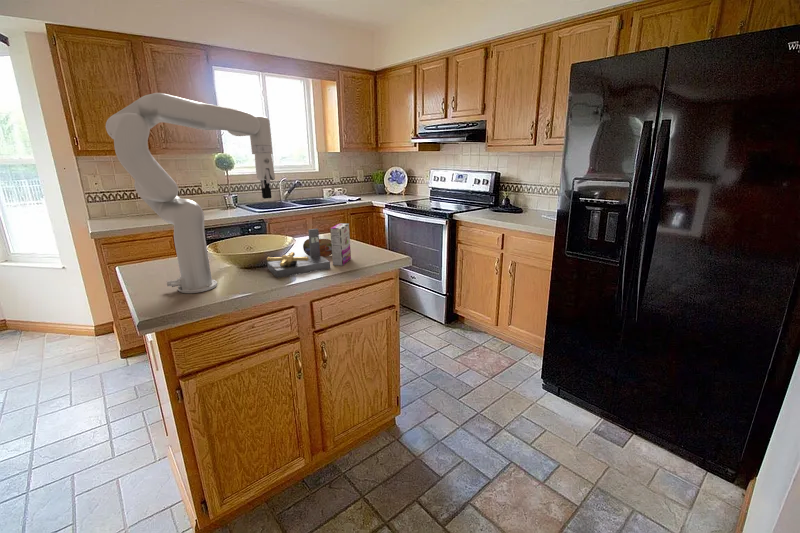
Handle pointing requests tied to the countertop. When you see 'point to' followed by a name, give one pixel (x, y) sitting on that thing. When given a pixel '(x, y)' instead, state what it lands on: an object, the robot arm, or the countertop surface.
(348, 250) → the candy bar box
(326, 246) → the tin
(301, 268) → the stand
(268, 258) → the capstan
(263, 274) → the countertop surface
